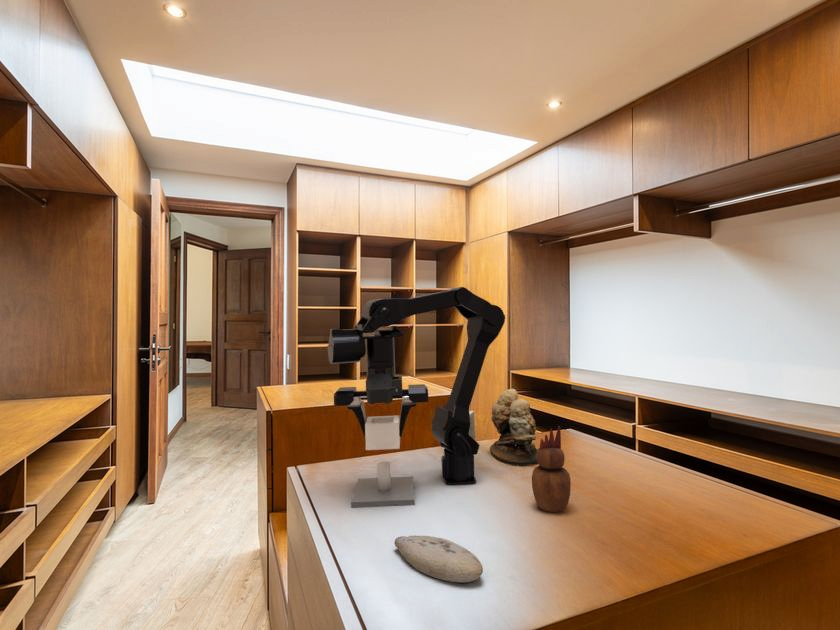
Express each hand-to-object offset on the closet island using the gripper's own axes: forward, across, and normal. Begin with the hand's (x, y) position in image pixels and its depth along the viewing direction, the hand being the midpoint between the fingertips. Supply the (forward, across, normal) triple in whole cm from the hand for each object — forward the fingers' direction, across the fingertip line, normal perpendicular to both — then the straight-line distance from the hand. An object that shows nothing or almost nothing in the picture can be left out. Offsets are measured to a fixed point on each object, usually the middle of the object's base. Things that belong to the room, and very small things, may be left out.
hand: (383, 437), depth 89 cm
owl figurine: (+12, +32, +20) cm, 39 cm away
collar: (+2, 0, 0) cm, 2 cm away
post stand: (+11, 0, 0) cm, 11 cm away
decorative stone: (+12, +9, -26) cm, 30 cm away
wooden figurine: (+12, +31, -10) cm, 35 cm away
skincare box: (+12, +20, +26) cm, 35 cm away
